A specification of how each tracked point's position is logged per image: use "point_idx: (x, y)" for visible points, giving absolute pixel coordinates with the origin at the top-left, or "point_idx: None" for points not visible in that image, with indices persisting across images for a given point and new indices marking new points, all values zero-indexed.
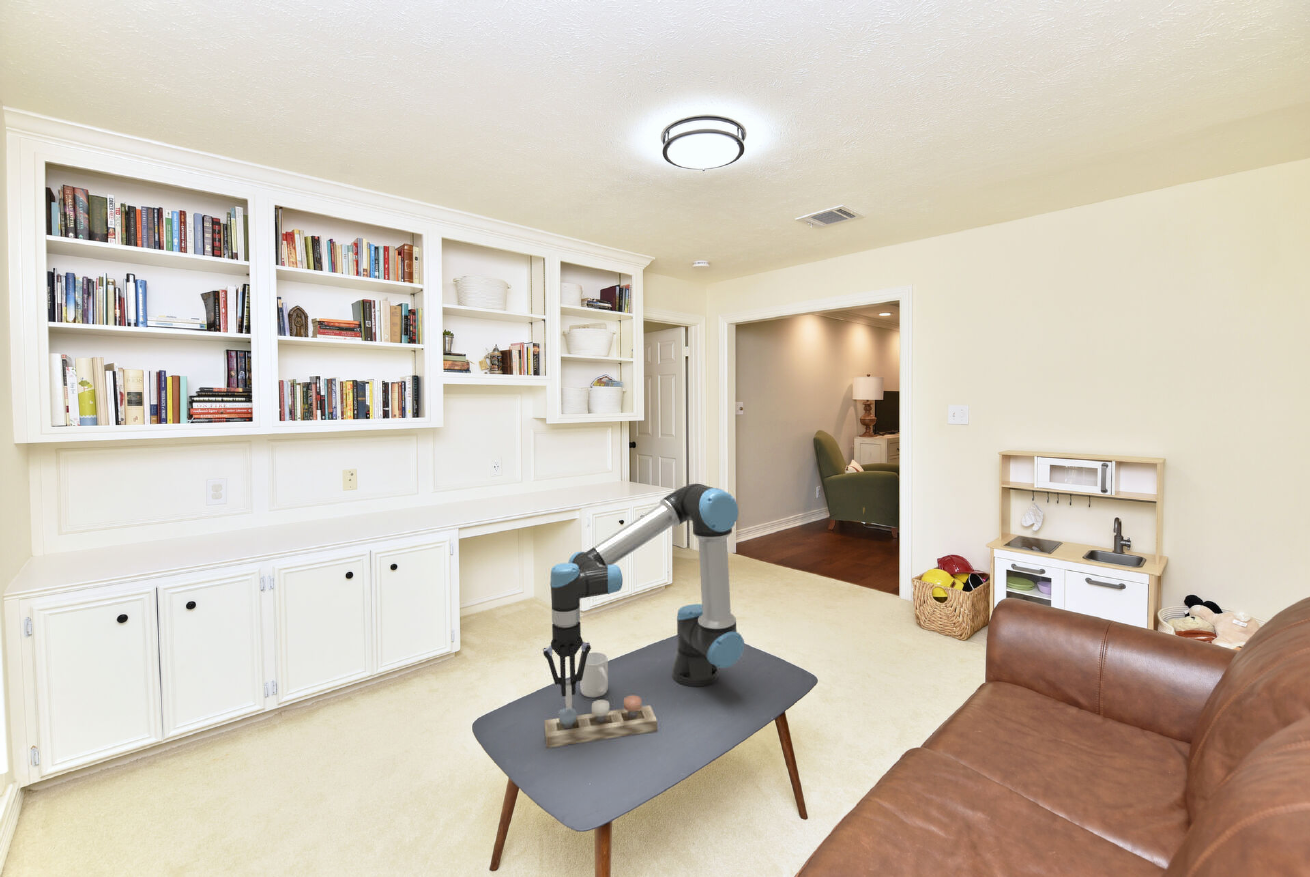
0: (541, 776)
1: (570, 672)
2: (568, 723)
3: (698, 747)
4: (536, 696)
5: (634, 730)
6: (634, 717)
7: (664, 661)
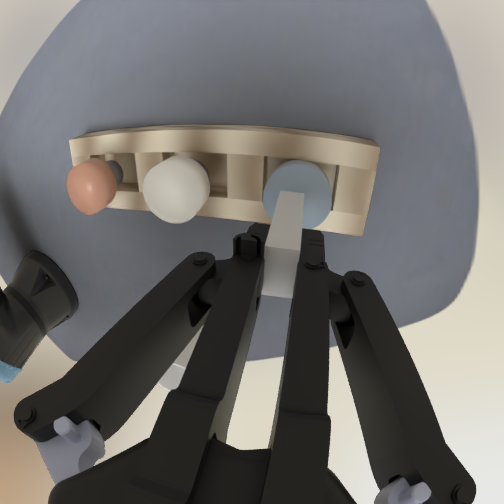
0: (403, 30)
1: (250, 317)
2: (302, 161)
3: (40, 72)
4: (331, 345)
5: (122, 130)
6: (108, 160)
7: (94, 333)
